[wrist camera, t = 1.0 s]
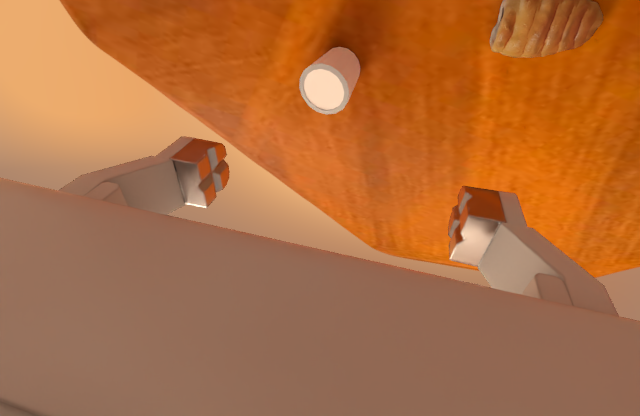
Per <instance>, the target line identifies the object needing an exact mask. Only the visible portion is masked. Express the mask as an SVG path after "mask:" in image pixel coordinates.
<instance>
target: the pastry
mask: <svg viewBox="0 0 640 416" xmlns="http://www.w3.org/2000/svg"><path fill="white" fill-rule="evenodd" d="M602 21H603V14H602V12H601V10H600V7H599V5H598V3H596V2H594V1H591V0H503V2H502V4H501V7H500V12H499V16H498V22H497V24H496V26H495V27H494V28H493V30H492V33H491V37H490V46H491V49H492V51H493V52H498V53H501V54H503V55H507V56H510V57H513V58H519V57H527V58H533V57H543V56H546V55H551V54H555V53H557V52H561V51H564V50H569V49H574V48H577V47H579V46H581V45H583V44H584V43H585V42H586V41H588V40H589V39H590V38H591V37H592V36H593V34H594V33H595V31H596V30H597V28H598V27H599V26H600V25H601V23H602Z"/></svg>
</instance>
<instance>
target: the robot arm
mask: <svg viewBox="0 0 640 416" xmlns="http://www.w3.org/2000/svg"><path fill="white" fill-rule="evenodd" d="M226 155H227V154H226V149H225V146H224V145H223V144H222V143H217V142H212V141H206V140H202V139H196V138H191V137H180V138H179V139H178V140H176V141H175V142H174V143H172V144H171V145H170V146H168V147H167V148H166V149H164V150H163V151H162V152H160V153H159V154H158V155H157V156H155V157H154V156H149V157H146V158H142V159H138V160H135V161H131V162H127V163H124V164H120V165H117V166H113V167H109V168H106V169H102V170H99V171H95V172H91V173H87V174H84V175H81V176H79V177H78V178H76V179H75V180H73V181H72V182H70V183H69V184H67V185H66V186H64V187H63V188H61V189H60V190H58V191H57V190H52V189H48V188H44V187H39V186H35V185H30V184H26V183H22V182H17V181H13V180H8V179H4V178H0V416H640V321H637V320H633V319H628V318H624V317H619V315H618V313H617V311H616V309H615V307H614V305H613V303H612V301H611V299H610V297H609V295H608V293H607V290H606V288H605V286H604V285H603V284H601V283H600V282H599V281H597V280H596V279H595V278H594V277H593V276H592V275H590V274H589V273H588V272H587V271H585V270H584V269H583V268H582V267H580V266H579V265H578V264H577V263H575V262H574V261H573V260H572V259H570V258H569V257H568V256H567V255H565V254H564V253H563V252H562V251H560V250H559V249H558V248H557V247H555V246H554V245H553V244H552V243H551V242H549V241H548V240H547V239H546V238H544V237H543V236H542V235H541V234H539V233H538V232H537V231H536V230H534V229H533V228H529V227H527V224H526V221H525V218H524V215H523V212H522V209H521V206H520V203H519V200H518V197H517V195H516V194H515V193H509V192H502V191H494V190H488V189H481V188H474V187H468V186H462V188H461V189H460V192H459V194H458V205H457V206H455V207H453V210H452V213H451V216H450V220H449V226H448V235H449V236H450V238H451V241H450V243H449V258H450V260H452V261H456V262H460V263H464V264H468V265H472V266H477V267H478V269H479V270H480V272H481V273H482V274H483V276H484V277H485V278H486V280H487V281H488V283H489V284H490V285H491V287H492V288H490V287H485V286H481V285H477V284H472V283H468V282H464V281H459V280H455V279H450V278H446V277H441V276H437V275H432V274H428V273H423V272H419V271H414V270H410V269H406V268H401V267H397V266H392V265H388V264H383V263H378V262H374V261H370V260H365V259H361V258H356V257H352V256H347V255H342V254H338V253H334V252H330V251H325V250H321V249H316V248H312V247H307V246H303V245H298V244H294V243H289V242H284V241H280V240H276V239H272V238H267V237H263V236H258V235H254V234H249V233H245V232H240V231H236V230H231V229H227V228H222V227H218V226H213V225H209V224H205V223H200V222H196V221H191V220H187V219H182V218H178V217H173V216H169V215H167V214H169V213H171V212H173V211H175V210H177V209H179V208H181V207H182V206H184V205H185V204H188V205H193V206H199V207H204V208H207V207H208V206H209V205H210V204H211V203H212V201H213V200H214V199H215V198H216V192H218V191H220V190H223V189H224V187H225V186H226V185H227V182H228V179H229V166H228V164H227V163H226V162H225V161H224V158H225V157H226Z"/></svg>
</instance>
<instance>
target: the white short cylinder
mask: <svg viewBox="0 0 640 416" xmlns="http://www.w3.org/2000/svg"><path fill="white" fill-rule="evenodd" d="M359 74H360V64H359V60H358V59H357V57H356V55H355V54H354V53H353V52H352V51H350V50H349V49H347V48H343V47H336V48H332V49H331V50H329V51H328V52H327V53H325V54H324V55H323V56H322V57H320V58H319V59H318V60H317V61H315V62H314V63H313V64H311V65H310V66H309V67H308V68H306V69H305V70H304V71H303V73H302V75H301V77H300V91H301V94H302V97H303V99H304V100H305V101H306V103H307V104H308V105H309V106H310V107H311V108H313V109H314V110H315V111H317V112H320V113H323V114H335V113H337V112H339V111H341V110H342V109H343V108H344V107H345V105H346V104H347V102H348V100H349V98H350V96H351V94H352V91H353V89H354V87H355V84H356V82H357V80H358V78H359Z"/></svg>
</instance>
